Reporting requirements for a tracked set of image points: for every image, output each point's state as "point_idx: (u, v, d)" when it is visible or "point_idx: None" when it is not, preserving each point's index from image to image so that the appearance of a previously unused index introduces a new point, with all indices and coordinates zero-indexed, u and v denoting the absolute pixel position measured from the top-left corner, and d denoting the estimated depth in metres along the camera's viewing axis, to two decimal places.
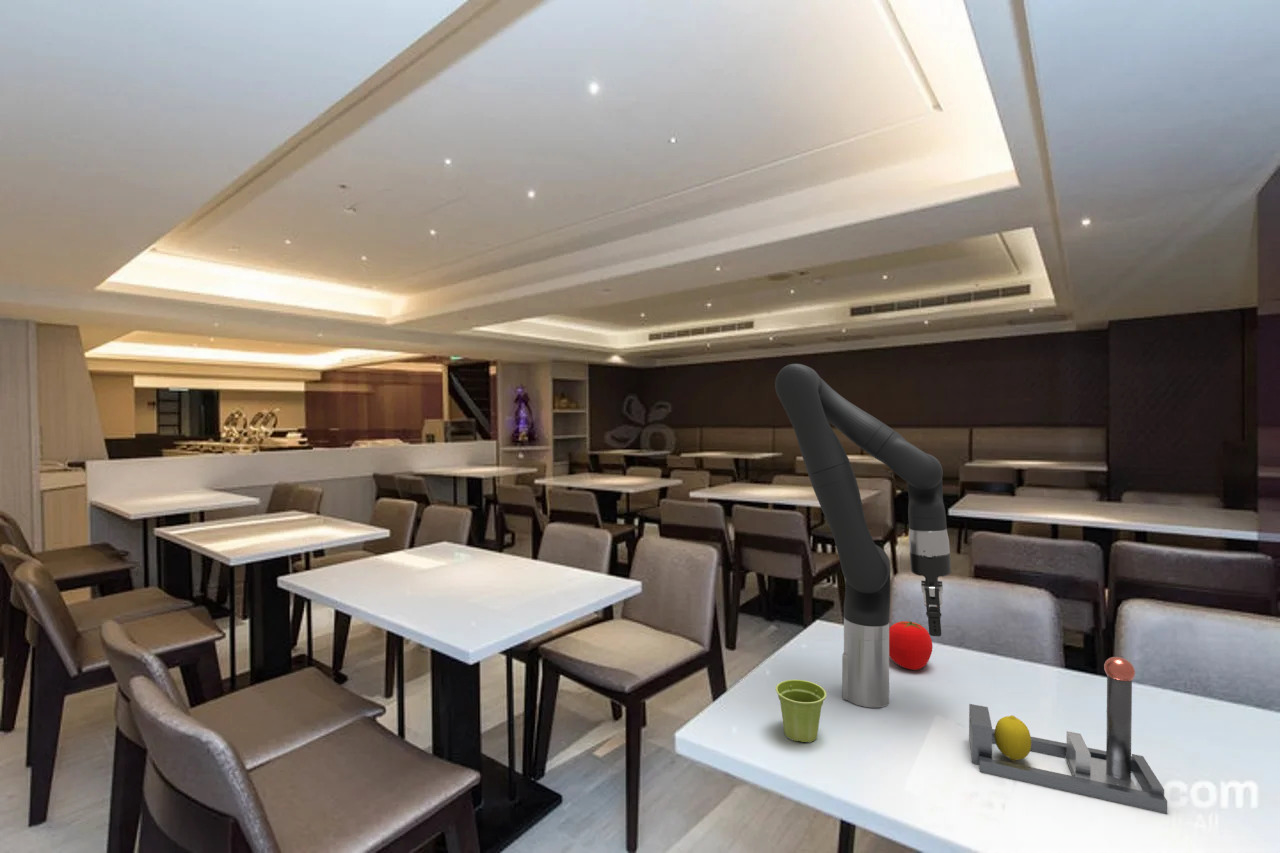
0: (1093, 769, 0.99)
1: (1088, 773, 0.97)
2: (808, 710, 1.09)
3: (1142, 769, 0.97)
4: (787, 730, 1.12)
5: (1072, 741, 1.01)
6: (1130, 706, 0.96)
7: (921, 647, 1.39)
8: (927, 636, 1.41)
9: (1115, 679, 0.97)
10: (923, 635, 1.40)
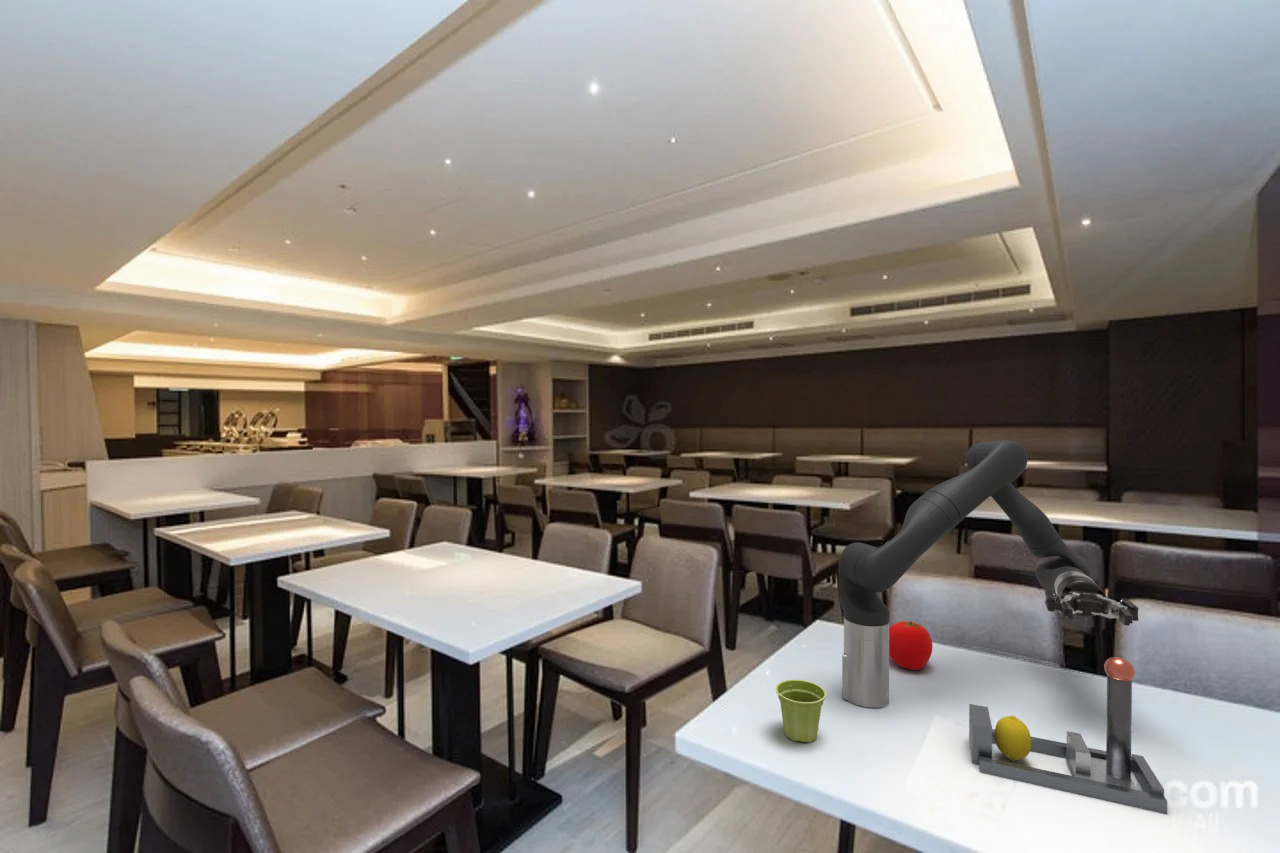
0: (1093, 769, 0.99)
1: (1088, 773, 0.97)
2: (808, 710, 1.09)
3: (1142, 769, 0.97)
4: (787, 730, 1.12)
5: (1072, 741, 1.01)
6: (1130, 706, 0.96)
7: (921, 647, 1.39)
8: (927, 636, 1.41)
9: (1115, 679, 0.97)
10: (923, 635, 1.40)
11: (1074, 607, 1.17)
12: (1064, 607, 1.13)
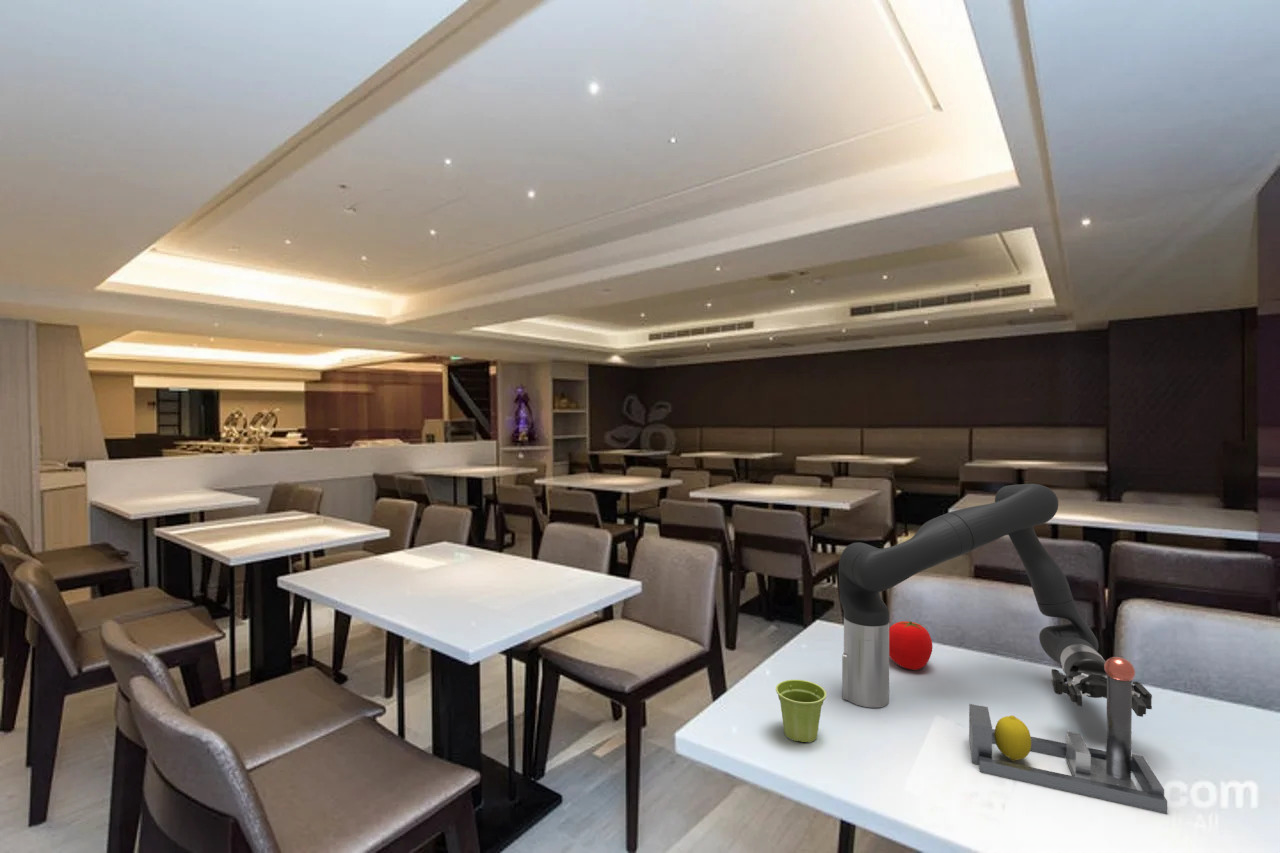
0: (1093, 769, 0.99)
1: (1088, 773, 0.97)
2: (808, 710, 1.09)
3: (1142, 769, 0.97)
4: (787, 730, 1.12)
5: (1072, 741, 1.01)
6: (1130, 706, 0.96)
7: (921, 647, 1.39)
8: (927, 636, 1.41)
9: (1115, 679, 0.97)
10: (923, 635, 1.40)
11: (1083, 690, 1.10)
12: (1073, 692, 1.06)
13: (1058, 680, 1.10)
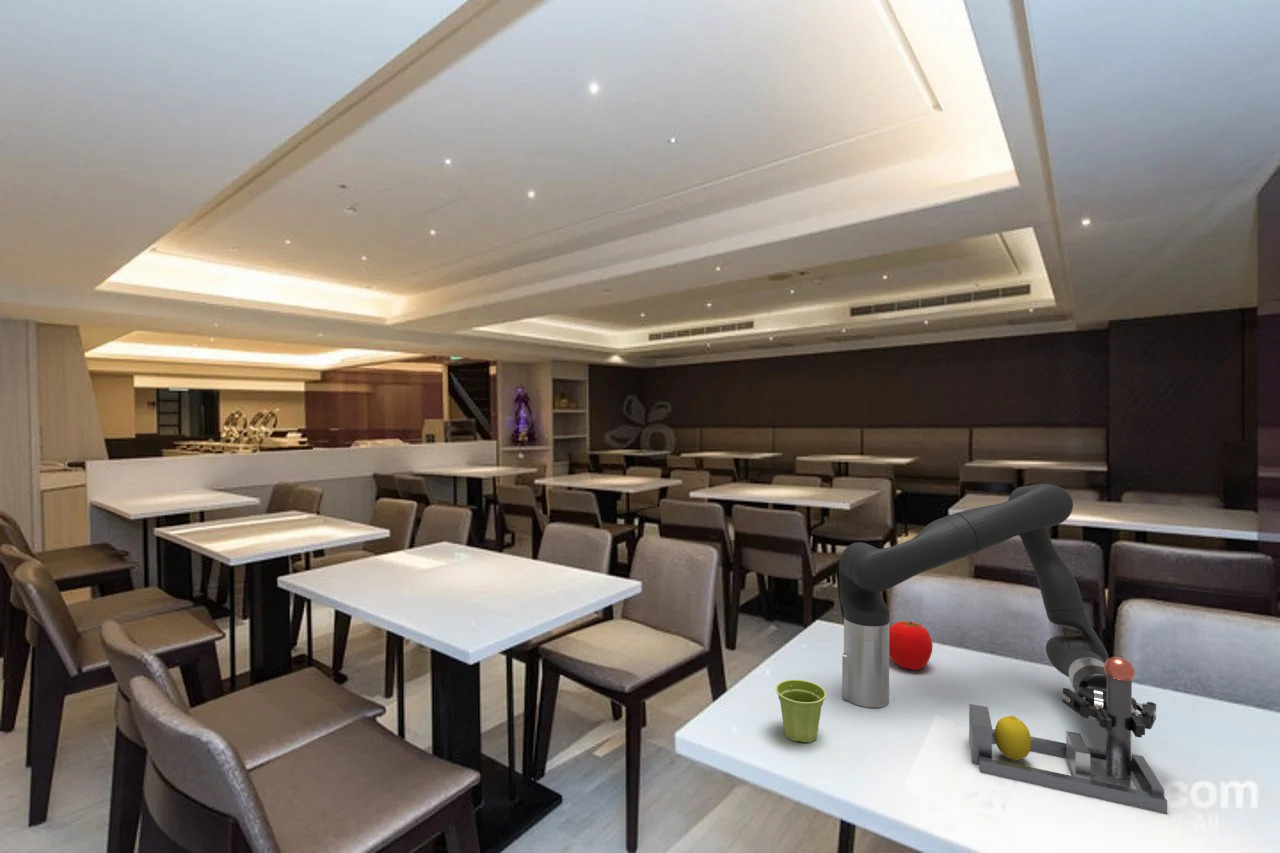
0: (1092, 769, 0.99)
1: (1088, 773, 0.97)
2: (808, 710, 1.09)
3: (1142, 769, 0.97)
4: (787, 730, 1.12)
5: (1072, 741, 1.01)
6: (1130, 706, 0.96)
7: (921, 647, 1.39)
8: (927, 636, 1.41)
9: (1115, 679, 0.97)
10: (923, 635, 1.40)
11: None
12: (1101, 716, 0.98)
13: (1085, 703, 1.01)
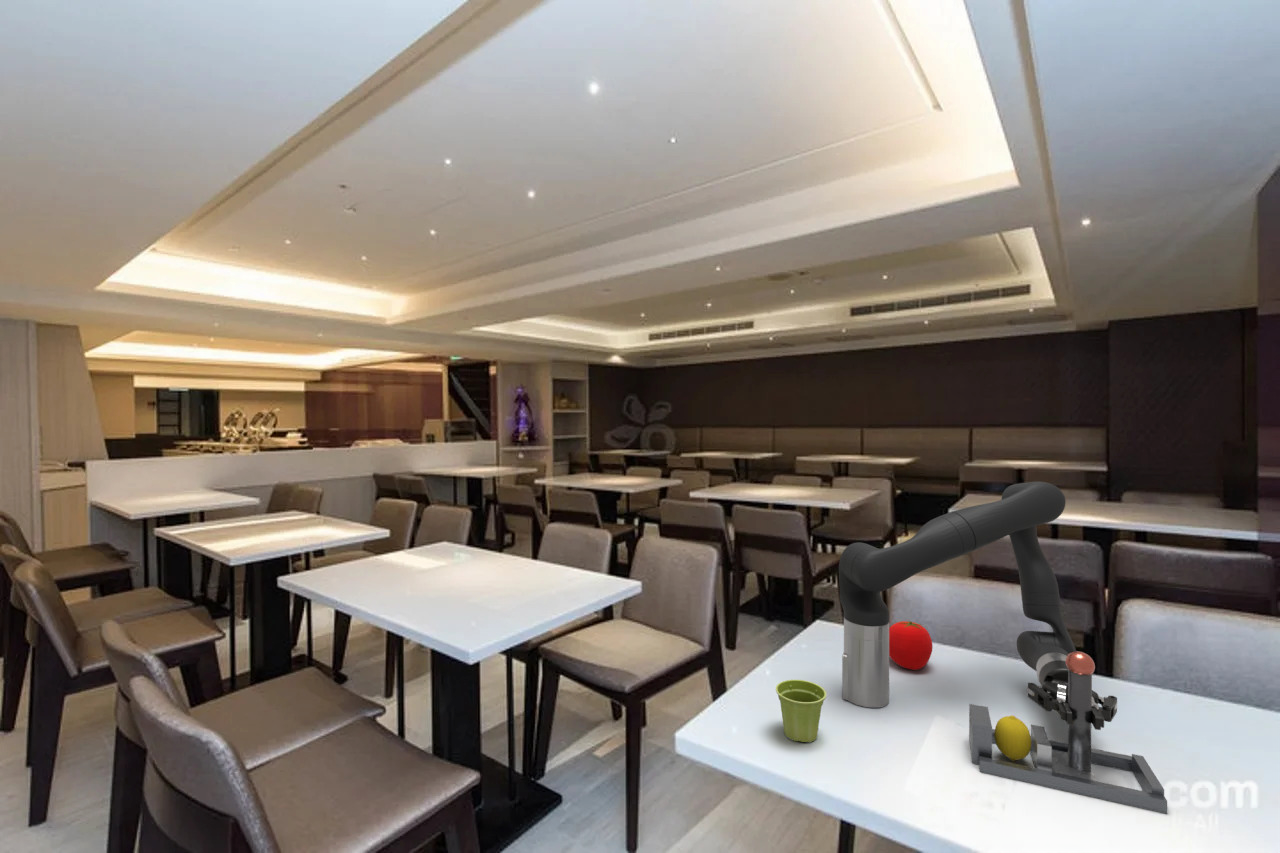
0: (1054, 761, 1.02)
1: (1049, 765, 0.99)
2: (808, 710, 1.09)
3: (1142, 769, 0.97)
4: (787, 730, 1.12)
5: (1035, 734, 1.03)
6: (1090, 699, 0.99)
7: (921, 647, 1.39)
8: (927, 636, 1.41)
9: (1075, 673, 0.99)
10: (923, 635, 1.40)
11: None
12: (1063, 710, 1.00)
13: (1048, 696, 1.04)
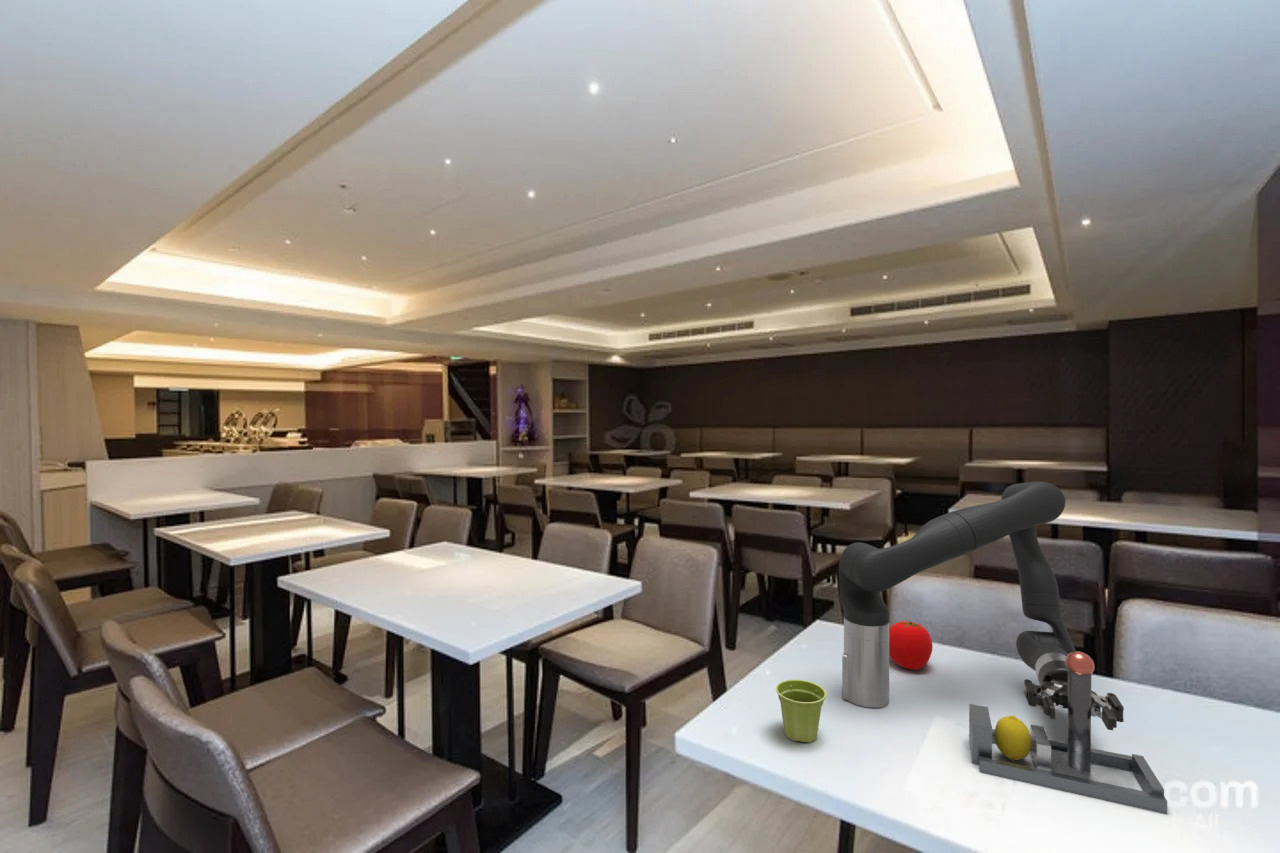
0: (1054, 761, 1.02)
1: (1049, 765, 0.99)
2: (808, 710, 1.09)
3: (1142, 769, 0.97)
4: (787, 730, 1.12)
5: (1034, 734, 1.03)
6: (1089, 699, 0.99)
7: (921, 647, 1.39)
8: (927, 636, 1.41)
9: (1075, 673, 0.99)
10: (923, 635, 1.40)
11: (1056, 701, 1.06)
12: (1046, 705, 1.02)
13: (1032, 692, 1.05)
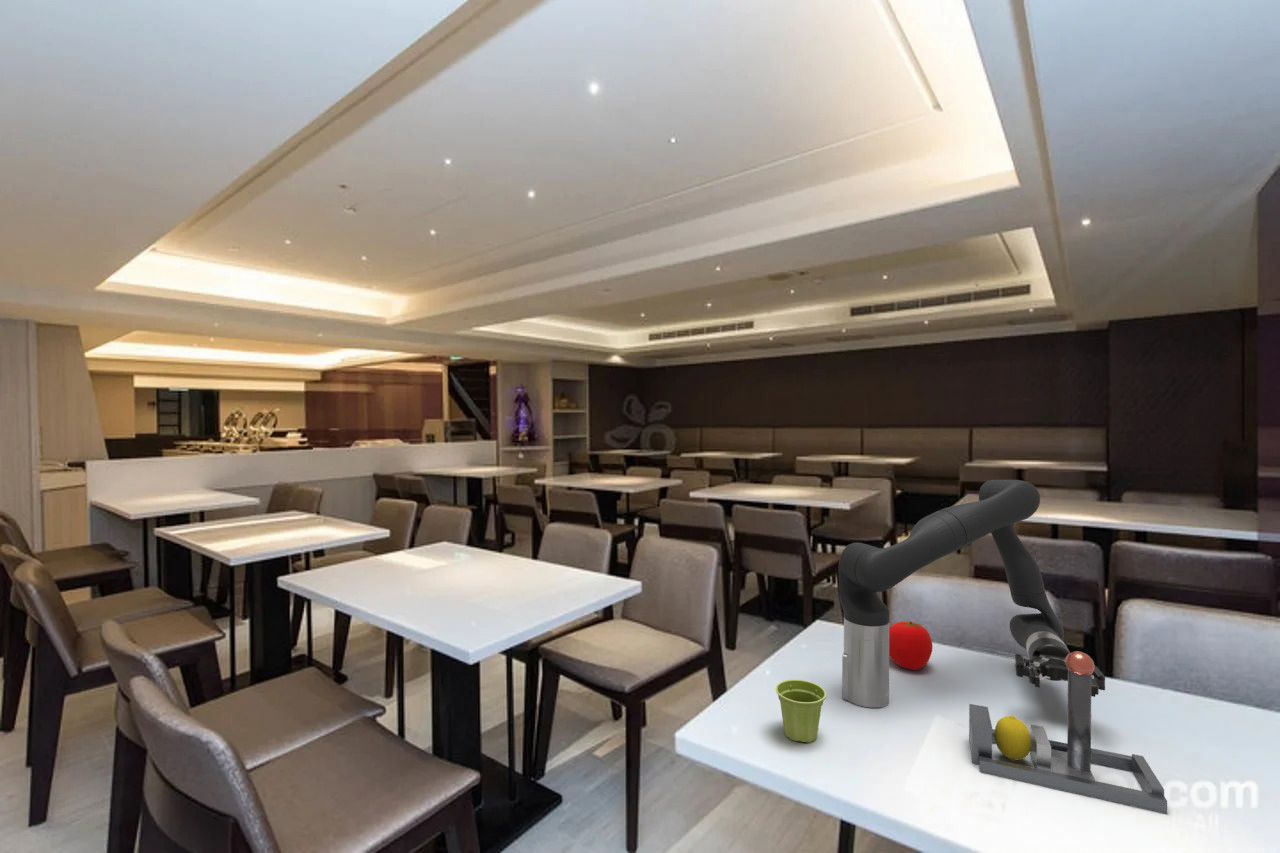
0: (1054, 761, 1.02)
1: (1049, 765, 0.99)
2: (808, 710, 1.09)
3: (1142, 769, 0.97)
4: (787, 730, 1.12)
5: (1034, 734, 1.03)
6: (1089, 699, 0.99)
7: (921, 647, 1.39)
8: (927, 636, 1.41)
9: (1075, 673, 0.99)
10: (923, 635, 1.40)
11: (1043, 673, 1.17)
12: (1032, 674, 1.14)
13: (1019, 664, 1.17)
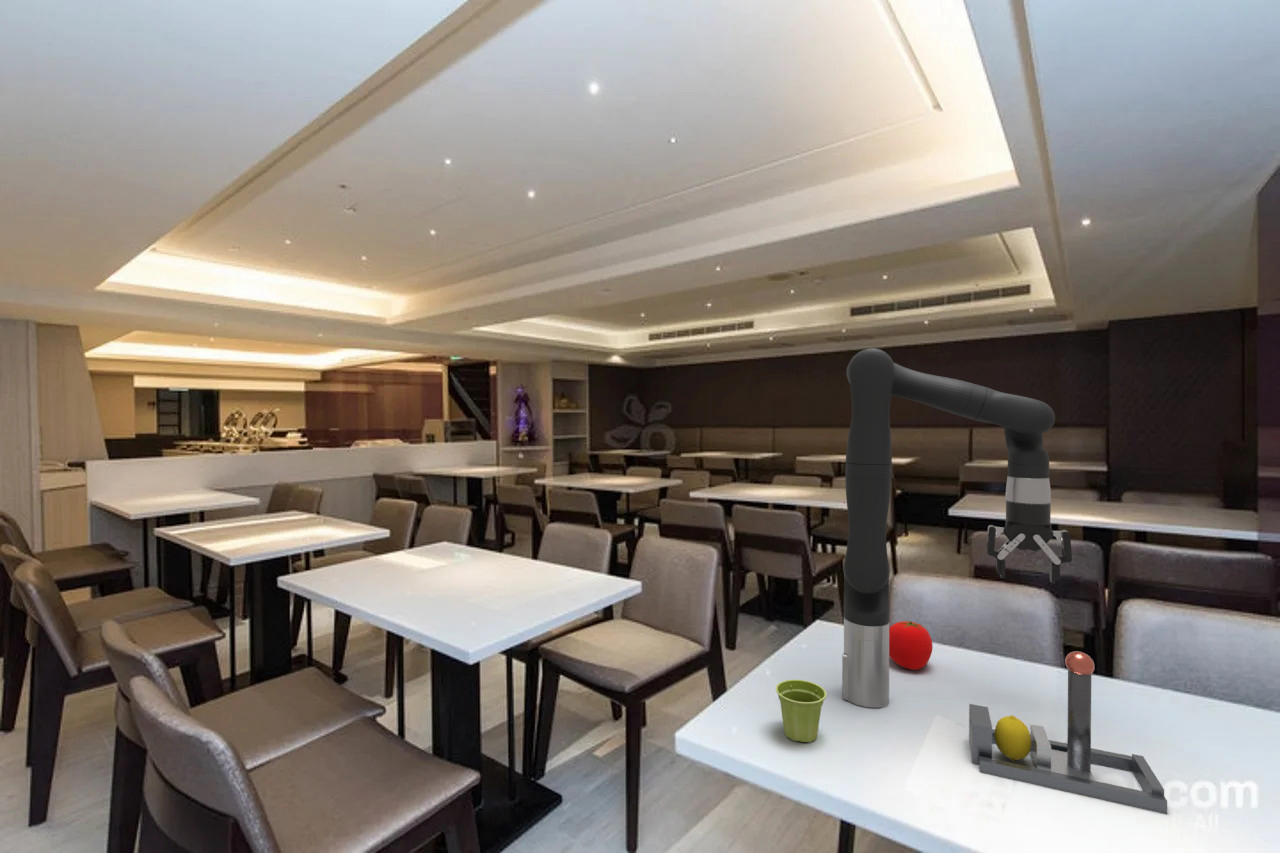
0: (1054, 761, 1.02)
1: (1049, 765, 0.99)
2: (808, 710, 1.09)
3: (1142, 769, 0.97)
4: (787, 730, 1.12)
5: (1034, 734, 1.03)
6: (1089, 699, 0.99)
7: (921, 647, 1.39)
8: (927, 636, 1.41)
9: (1075, 673, 0.99)
10: (923, 635, 1.40)
11: None
12: (999, 570, 1.20)
13: (990, 554, 1.20)
